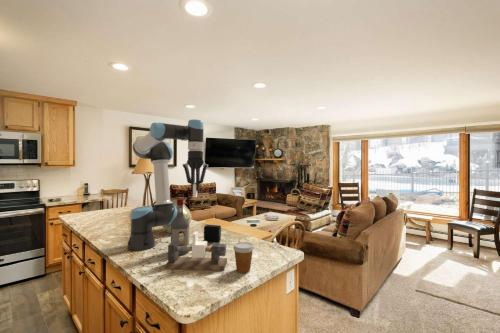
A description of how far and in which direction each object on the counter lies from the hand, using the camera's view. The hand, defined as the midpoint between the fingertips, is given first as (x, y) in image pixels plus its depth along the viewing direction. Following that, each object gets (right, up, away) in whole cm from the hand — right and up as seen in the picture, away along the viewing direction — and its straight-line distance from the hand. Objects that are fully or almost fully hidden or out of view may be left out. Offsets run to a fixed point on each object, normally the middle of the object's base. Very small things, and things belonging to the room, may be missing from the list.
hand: (195, 197), depth 125 cm
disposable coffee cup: (+25, -34, -9) cm, 43 cm away
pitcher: (-27, -32, +55) cm, 69 cm away
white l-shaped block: (+3, -28, -4) cm, 29 cm away
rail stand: (+2, -33, -4) cm, 33 cm away
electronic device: (+4, -33, +33) cm, 46 cm away
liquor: (-11, -33, +13) cm, 37 cm away
